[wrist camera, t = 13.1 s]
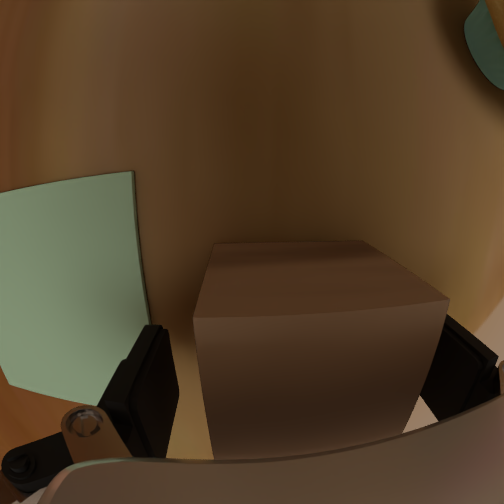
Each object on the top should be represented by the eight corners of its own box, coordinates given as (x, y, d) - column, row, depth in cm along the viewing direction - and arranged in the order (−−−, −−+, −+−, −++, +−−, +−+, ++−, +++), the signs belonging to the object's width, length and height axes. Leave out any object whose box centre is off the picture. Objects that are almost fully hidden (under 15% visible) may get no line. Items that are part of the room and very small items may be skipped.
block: (214, 242, 11) (192, 317, 6) (361, 240, 12) (450, 299, 6) (222, 368, 13) (217, 474, 7) (346, 359, 13) (392, 451, 8)
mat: (-40, 203, 10) (-43, 204, 10) (133, 171, 10) (131, 171, 10) (11, 382, 13) (9, 384, 13) (171, 410, 14) (170, 414, 13)
